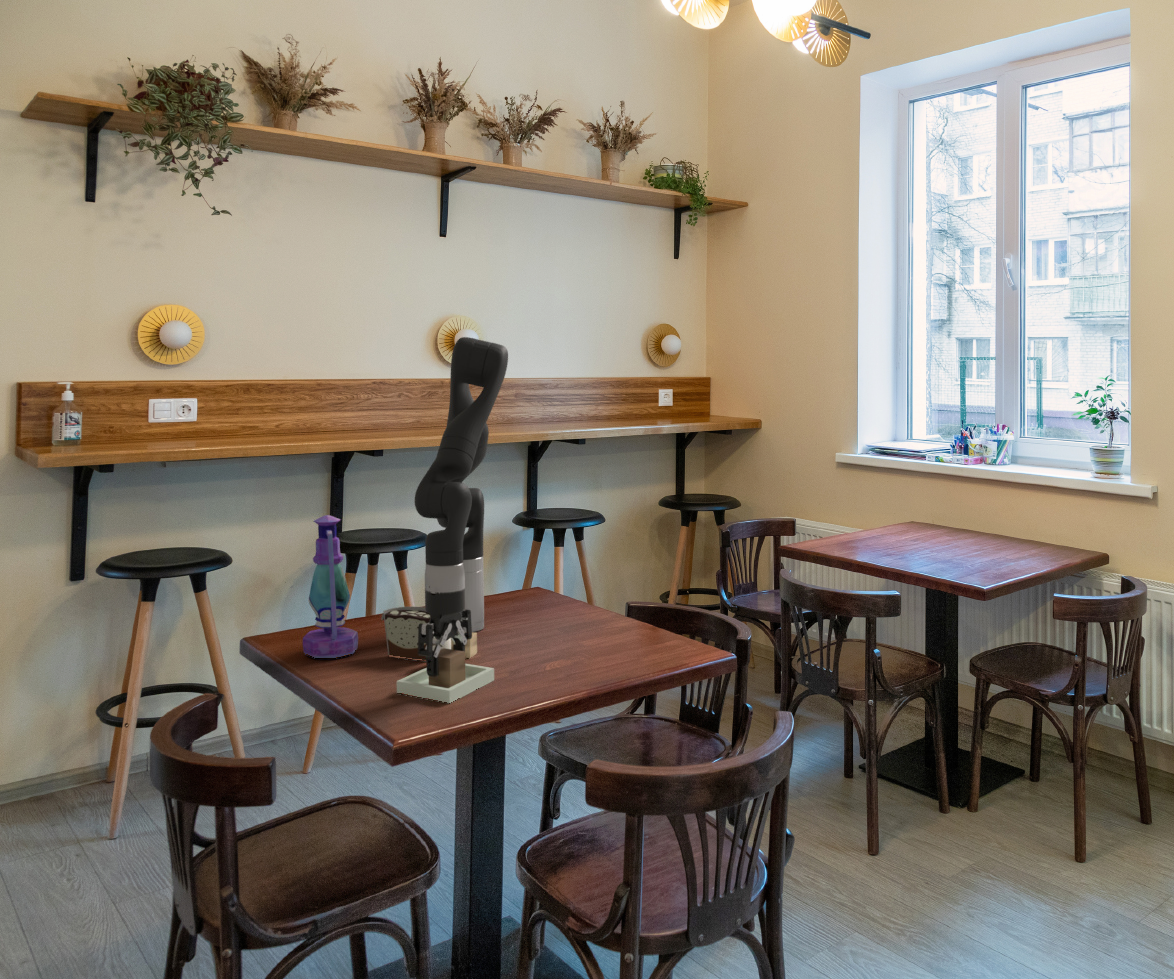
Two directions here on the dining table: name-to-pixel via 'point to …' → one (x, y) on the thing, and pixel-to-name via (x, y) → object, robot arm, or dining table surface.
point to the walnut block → (449, 668)
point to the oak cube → (469, 646)
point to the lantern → (329, 597)
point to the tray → (421, 688)
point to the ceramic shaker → (446, 645)
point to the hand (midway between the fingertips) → (446, 669)
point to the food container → (404, 630)
